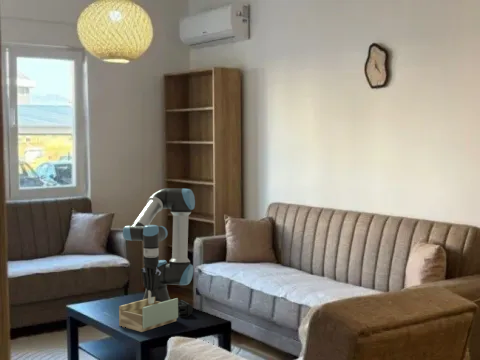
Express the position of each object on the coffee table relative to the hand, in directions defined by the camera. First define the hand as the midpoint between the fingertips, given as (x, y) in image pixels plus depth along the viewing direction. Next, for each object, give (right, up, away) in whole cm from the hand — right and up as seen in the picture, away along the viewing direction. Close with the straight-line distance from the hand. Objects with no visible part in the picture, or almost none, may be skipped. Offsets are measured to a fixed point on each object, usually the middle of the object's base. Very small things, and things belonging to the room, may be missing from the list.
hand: (151, 303), depth 327 cm
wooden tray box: (-2, -11, +2) cm, 11 cm away
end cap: (+14, -10, +19) cm, 26 cm away
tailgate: (+5, -9, -3) cm, 11 cm away
